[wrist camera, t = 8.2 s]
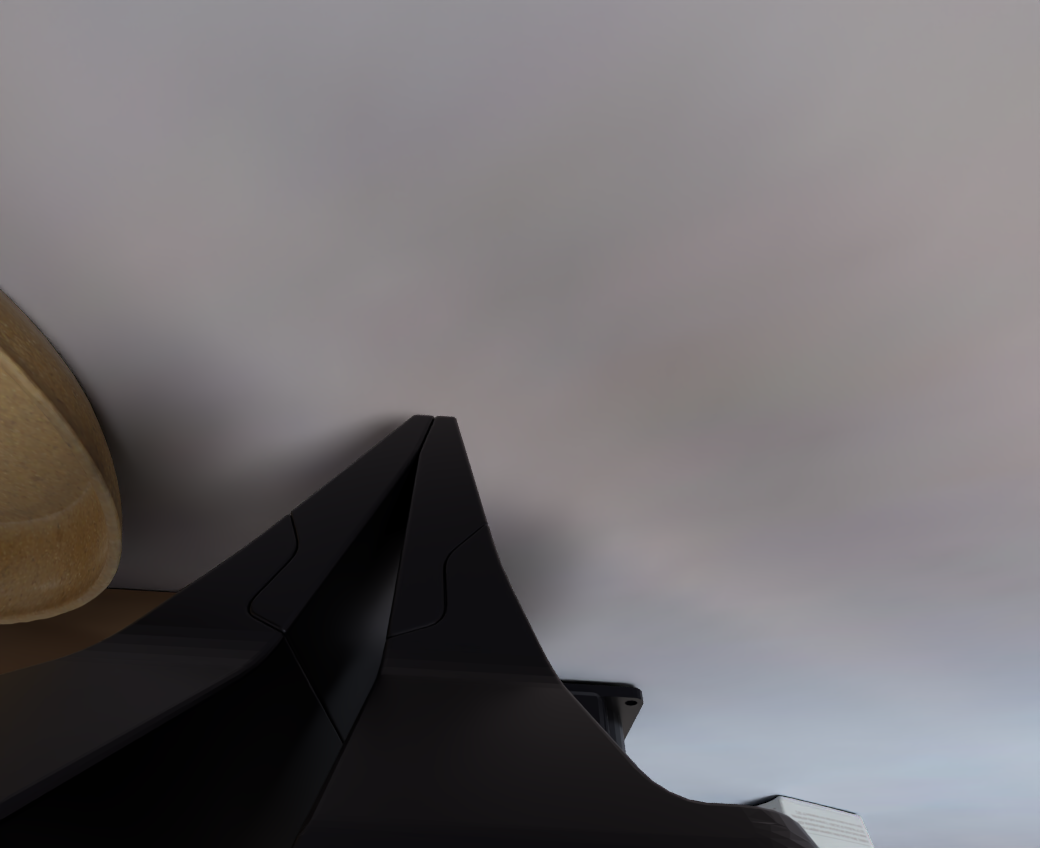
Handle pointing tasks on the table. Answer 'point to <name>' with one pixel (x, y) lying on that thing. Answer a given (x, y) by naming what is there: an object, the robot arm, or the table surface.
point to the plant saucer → (50, 481)
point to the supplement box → (824, 823)
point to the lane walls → (73, 628)
